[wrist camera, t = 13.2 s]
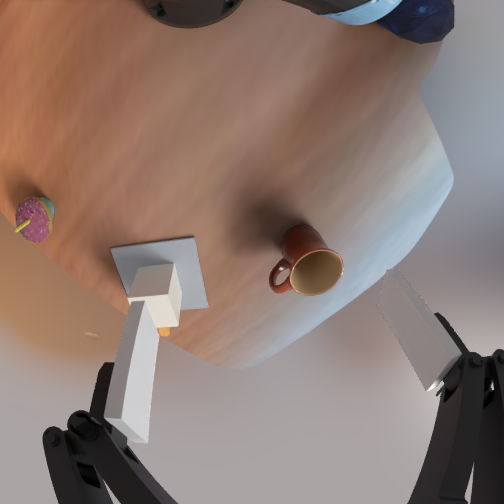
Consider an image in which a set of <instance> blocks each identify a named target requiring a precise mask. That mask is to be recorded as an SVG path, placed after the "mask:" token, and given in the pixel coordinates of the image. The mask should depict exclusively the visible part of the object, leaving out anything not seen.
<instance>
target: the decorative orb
mask: <svg viewBox="0 0 504 504" xmlns="http://www.w3.org/2000/svg"><path fill="white" fill-rule="evenodd" d="M377 22H378V23H379V24H380V25H382V26H383V27H385V28H386V29H388V30H389V31H391V32H392V33H394V34H395V35H397V36H398V37H400V38H403V39H406V40H410V41H413V42H416V43H419V44H424V43H430V42H437V41H441V40H442V39H443V38H444V37H445V36H446V35H447V34H448V33H449V32H450V31H451V30H452V29H453V28H454V4H453V3H452V1H451V0H402V1H401V2H400V3H399V4H398V5H397V6H396V7H395V8H394V9H393V10H392V11H390V12H389V13H388V14H386V15H385V16H383V17H381V18H380V19H378V20H377Z"/></svg>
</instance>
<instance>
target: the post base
mask: <svg viewBox="0 0 504 504" xmlns="http://www.w3.org/2000/svg"><path fill="white" fill-rule="evenodd" d="M110 250H111V253H112V256H113V258H114V261H115V264H116V267H117V269H118V272H119V275H120V277H121V280H122V282H123V285H124V288H125V290H126V293H127V295H128V294H129V292H130V289H131V286H132V283H133V281H134V278H135V275H136V273H137V270H138V268H139V267H143V266H152V265H161V264H169V263H175V267H176V271H177V275H178V279H179V283H180V287H181V291H182V299H181V307H180V310H187V309H197V308H207V307H208V301H207V297H206V292H205V287H204V283H203V278H202V273H201V268H200V263H199V258H198V252H197V247H196V242H195V237H188V238H180V239H172V240H165V241H157V242H149V243H142V244H134V245H127V246H120V247H113V248H111V249H110Z"/></svg>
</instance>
